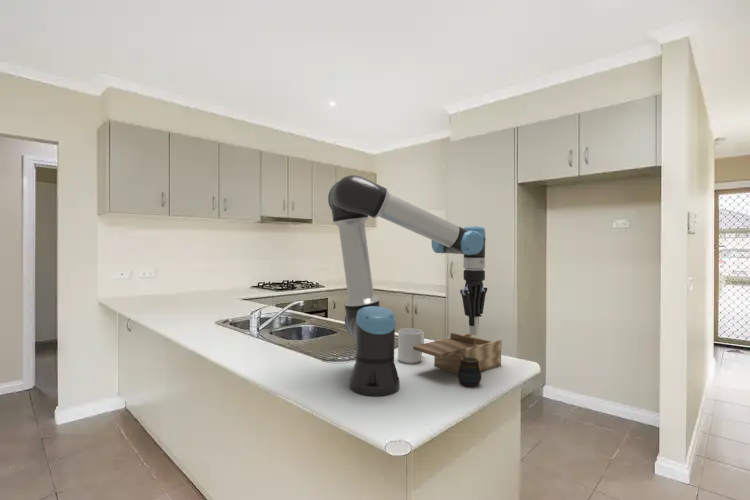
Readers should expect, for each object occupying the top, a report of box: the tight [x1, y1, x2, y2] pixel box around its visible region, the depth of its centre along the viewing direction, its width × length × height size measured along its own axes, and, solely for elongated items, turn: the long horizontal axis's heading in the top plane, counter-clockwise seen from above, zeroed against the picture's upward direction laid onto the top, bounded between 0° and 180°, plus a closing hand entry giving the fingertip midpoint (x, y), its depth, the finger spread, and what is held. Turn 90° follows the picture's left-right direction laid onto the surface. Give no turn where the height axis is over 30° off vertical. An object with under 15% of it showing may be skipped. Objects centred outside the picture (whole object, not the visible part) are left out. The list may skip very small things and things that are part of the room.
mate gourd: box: [457, 355, 482, 388], centre depth 123 cm, size 7×8×10 cm
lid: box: [413, 332, 479, 358], centre depth 135 cm, size 20×12×3 cm, turn 129°
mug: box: [397, 327, 426, 365], centre depth 148 cm, size 12×9×11 cm
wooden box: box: [433, 332, 503, 375], centre depth 142 cm, size 20×14×9 cm
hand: (473, 334), depth 143 cm, fingers closed
